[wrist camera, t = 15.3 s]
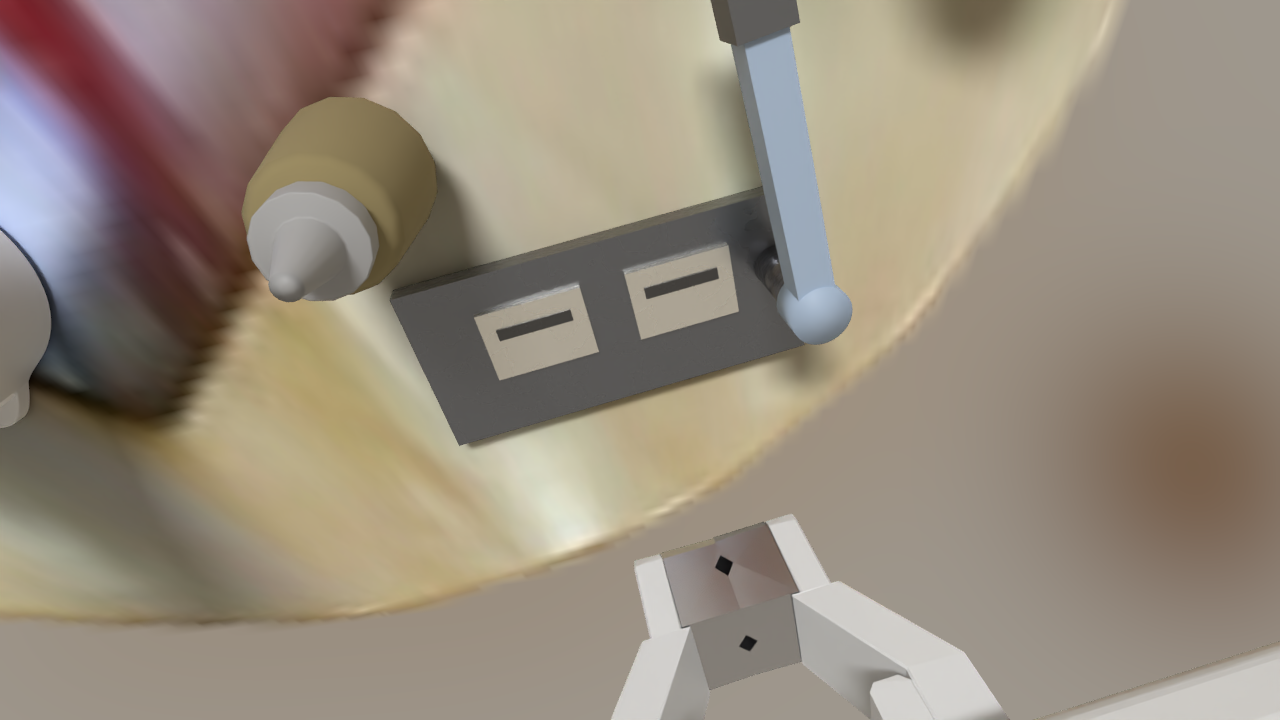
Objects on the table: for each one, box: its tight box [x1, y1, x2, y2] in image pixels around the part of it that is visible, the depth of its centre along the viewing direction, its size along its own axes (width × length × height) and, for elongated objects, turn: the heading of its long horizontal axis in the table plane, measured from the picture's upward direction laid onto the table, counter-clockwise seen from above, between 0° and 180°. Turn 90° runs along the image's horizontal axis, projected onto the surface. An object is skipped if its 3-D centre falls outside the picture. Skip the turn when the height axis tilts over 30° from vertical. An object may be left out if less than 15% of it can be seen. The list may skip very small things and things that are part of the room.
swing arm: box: [711, 0, 852, 345], centre depth 35 cm, size 21×4×3 cm, turn 18°
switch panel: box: [390, 186, 804, 446], centre depth 44 cm, size 26×12×6 cm, turn 103°
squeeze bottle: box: [242, 97, 438, 302], centre depth 31 cm, size 8×8×18 cm
